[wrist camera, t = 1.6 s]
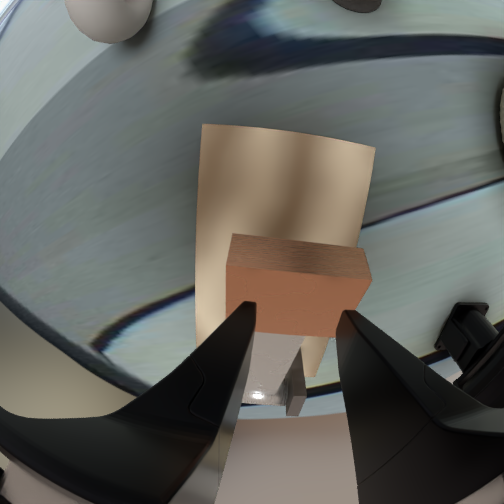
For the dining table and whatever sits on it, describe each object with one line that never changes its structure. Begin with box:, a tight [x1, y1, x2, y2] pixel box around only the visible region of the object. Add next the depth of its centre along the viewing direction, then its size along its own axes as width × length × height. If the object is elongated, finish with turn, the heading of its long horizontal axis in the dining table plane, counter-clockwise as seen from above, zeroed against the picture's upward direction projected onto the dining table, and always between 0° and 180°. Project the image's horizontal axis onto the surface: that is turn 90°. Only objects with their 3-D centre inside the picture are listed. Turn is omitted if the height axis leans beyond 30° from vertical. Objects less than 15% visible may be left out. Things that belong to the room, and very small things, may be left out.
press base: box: [195, 124, 375, 416], centre depth 19 cm, size 12×22×8 cm, turn 174°
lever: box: [226, 233, 372, 406], centre depth 15 cm, size 5×17×2 cm, turn 174°
